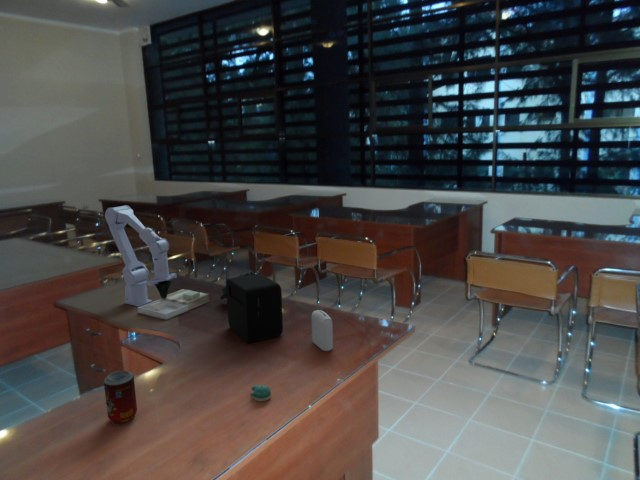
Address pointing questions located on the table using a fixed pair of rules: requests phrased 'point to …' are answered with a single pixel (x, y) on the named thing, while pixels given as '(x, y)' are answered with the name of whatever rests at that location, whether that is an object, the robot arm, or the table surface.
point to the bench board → (191, 304)
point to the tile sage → (191, 295)
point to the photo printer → (322, 330)
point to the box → (164, 310)
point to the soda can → (120, 397)
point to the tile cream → (157, 306)
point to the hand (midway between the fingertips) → (163, 297)
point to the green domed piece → (261, 393)
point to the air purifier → (254, 307)
